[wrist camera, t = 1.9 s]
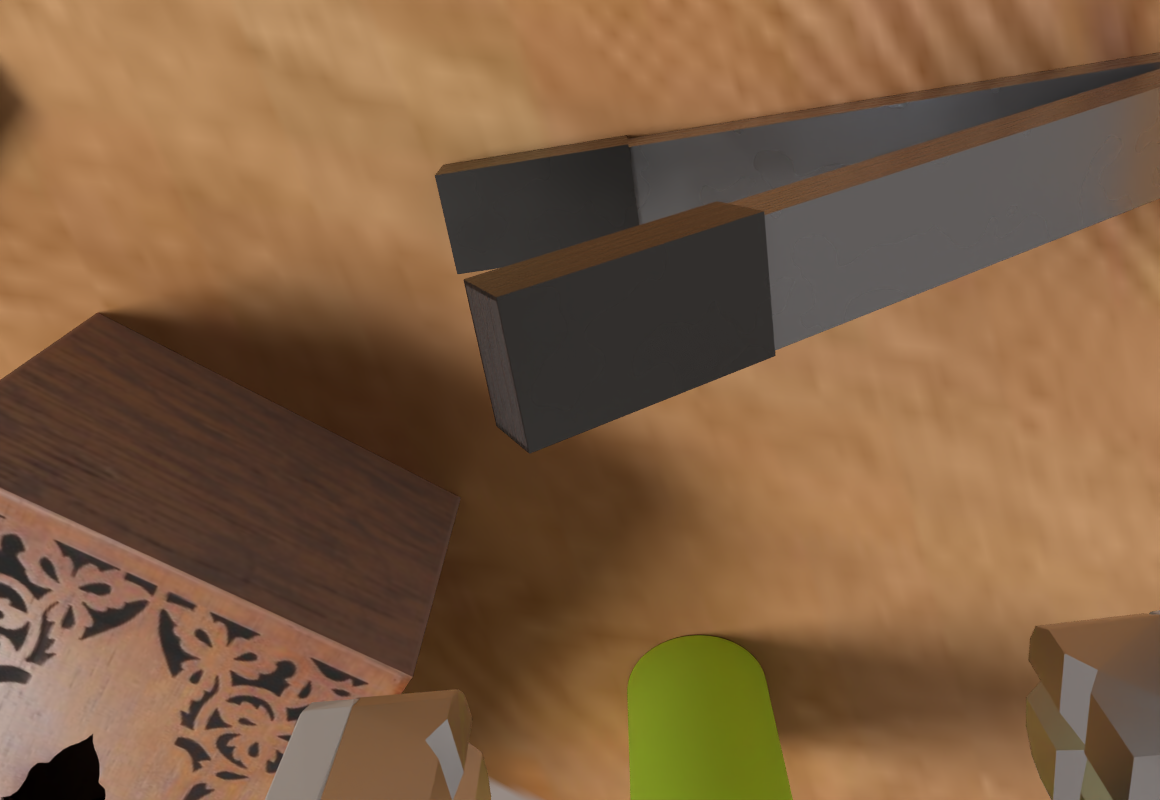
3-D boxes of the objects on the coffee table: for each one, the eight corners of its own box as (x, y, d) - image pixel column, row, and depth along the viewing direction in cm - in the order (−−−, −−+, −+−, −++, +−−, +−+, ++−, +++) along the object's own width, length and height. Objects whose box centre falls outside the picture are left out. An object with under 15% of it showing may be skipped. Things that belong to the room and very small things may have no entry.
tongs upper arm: (1194, 50, 26) (1256, 49, 25) (1181, 169, 27) (1237, 174, 26) (462, 274, 18) (495, 292, 16) (497, 430, 19) (530, 458, 18)
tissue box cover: (101, 310, 32) (-93, 445, 23) (461, 494, 35) (412, 676, 26) (-74, 760, 42) (-258, 976, 33) (219, 874, 45) (123, 1102, 36)
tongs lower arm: (1365, 15, 27) (1414, 19, 25) (1344, 126, 28) (1389, 135, 27) (443, 164, 30) (433, 176, 28) (464, 259, 31) (456, 276, 29)
